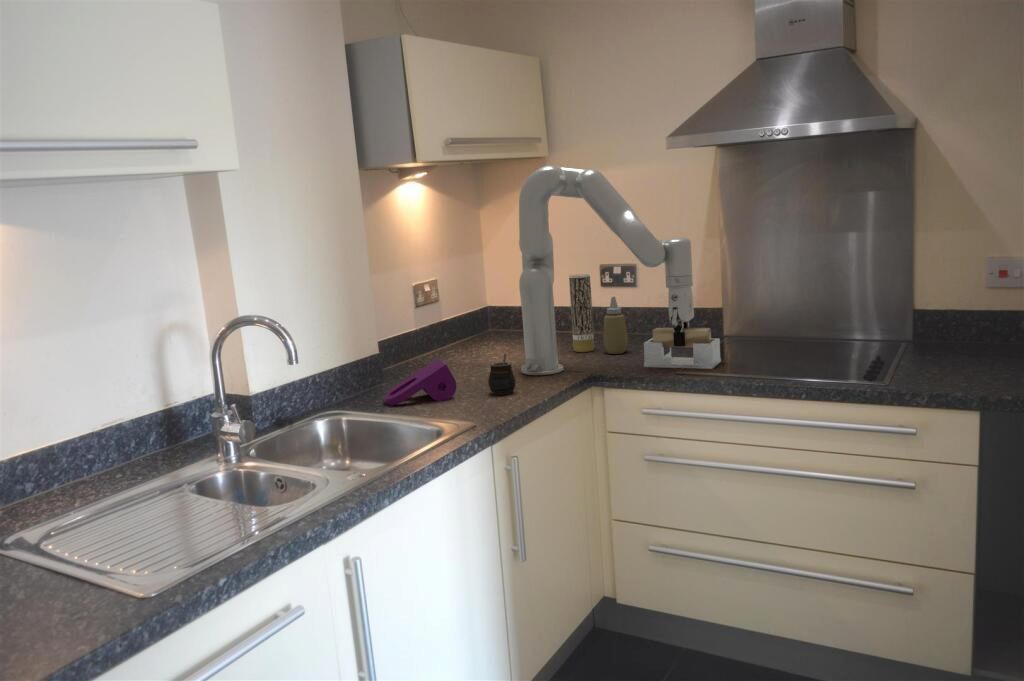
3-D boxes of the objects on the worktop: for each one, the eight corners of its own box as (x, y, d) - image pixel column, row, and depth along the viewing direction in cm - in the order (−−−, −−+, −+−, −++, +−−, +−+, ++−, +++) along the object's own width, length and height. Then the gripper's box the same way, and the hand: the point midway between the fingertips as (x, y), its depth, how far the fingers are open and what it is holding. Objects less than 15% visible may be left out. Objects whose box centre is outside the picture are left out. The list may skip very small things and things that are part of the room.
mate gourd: (486, 396, 223) (483, 359, 222) (492, 390, 231) (489, 354, 229) (513, 396, 222) (510, 358, 220) (518, 389, 229) (515, 353, 228)
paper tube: (569, 350, 280) (565, 275, 276) (587, 348, 282) (583, 273, 278) (580, 353, 274) (575, 276, 269) (598, 350, 276) (593, 274, 272)
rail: (707, 347, 239) (707, 330, 238) (653, 347, 247) (652, 330, 246) (711, 345, 243) (710, 327, 242) (657, 344, 250) (656, 327, 249)
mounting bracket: (404, 428, 220) (461, 390, 224) (387, 402, 218) (446, 364, 222) (397, 420, 229) (452, 384, 233) (381, 395, 227) (437, 358, 231)
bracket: (712, 368, 237) (711, 344, 235) (643, 366, 246) (642, 343, 245) (721, 361, 245) (720, 337, 244) (654, 360, 255) (653, 337, 253)
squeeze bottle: (626, 355, 266) (623, 298, 263) (601, 355, 268) (597, 299, 265) (631, 350, 273) (628, 294, 270) (606, 350, 276) (603, 295, 273)
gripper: (683, 285, 233) (686, 350, 236) (699, 277, 247) (702, 339, 250) (657, 285, 236) (660, 350, 239) (674, 278, 251) (677, 339, 254)
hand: (681, 343), depth 245 cm, fingers closed on rail, 4 cm apart
